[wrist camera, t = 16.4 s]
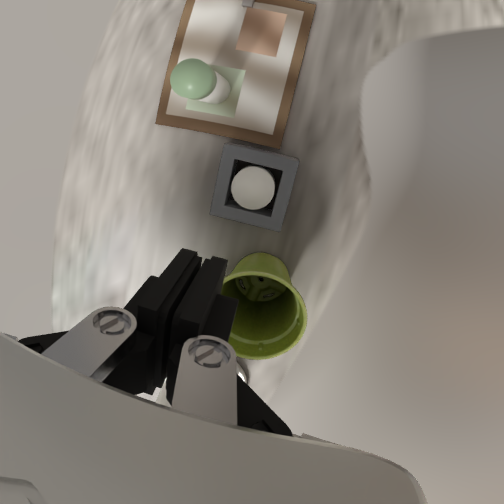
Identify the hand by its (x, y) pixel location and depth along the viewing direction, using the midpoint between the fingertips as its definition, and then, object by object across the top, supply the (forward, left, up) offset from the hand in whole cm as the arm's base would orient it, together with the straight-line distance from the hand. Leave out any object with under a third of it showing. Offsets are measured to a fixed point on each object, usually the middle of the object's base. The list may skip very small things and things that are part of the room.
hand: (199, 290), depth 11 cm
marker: (+8, +6, -21) cm, 24 cm away
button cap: (0, 0, -21) cm, 21 cm away
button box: (0, 0, -22) cm, 22 cm away
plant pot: (-10, -3, -22) cm, 25 cm away
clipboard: (+12, +5, -22) cm, 26 cm away
